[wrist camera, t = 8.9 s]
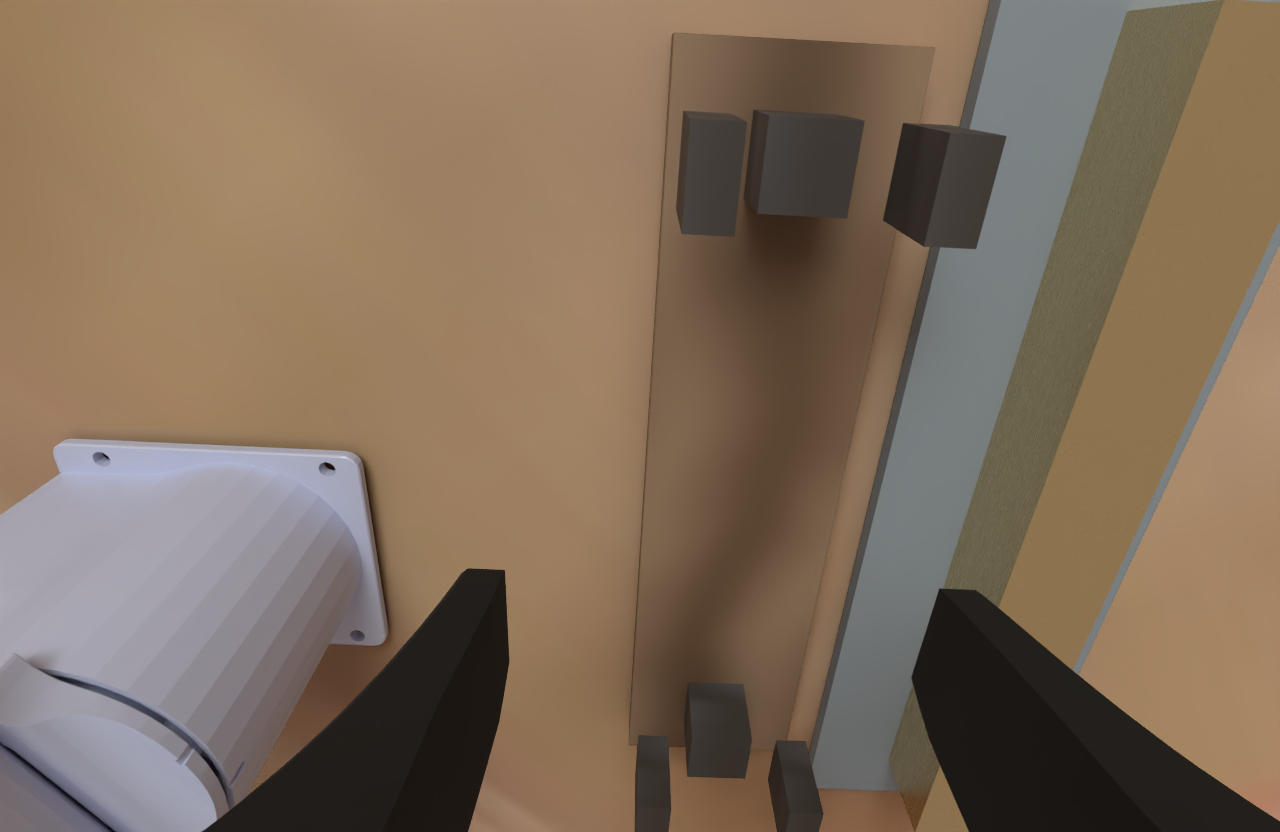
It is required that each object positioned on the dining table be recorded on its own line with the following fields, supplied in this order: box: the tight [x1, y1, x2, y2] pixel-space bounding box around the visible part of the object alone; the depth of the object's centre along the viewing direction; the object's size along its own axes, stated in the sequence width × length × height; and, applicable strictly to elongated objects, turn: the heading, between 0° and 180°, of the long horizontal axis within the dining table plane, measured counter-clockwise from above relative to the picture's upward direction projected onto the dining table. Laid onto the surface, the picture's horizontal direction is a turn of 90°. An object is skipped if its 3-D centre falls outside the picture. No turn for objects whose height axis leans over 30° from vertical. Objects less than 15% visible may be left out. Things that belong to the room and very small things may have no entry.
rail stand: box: [629, 33, 1007, 832], centre depth 20 cm, size 6×24×6 cm, turn 177°
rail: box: [889, 0, 1280, 832], centre depth 20 cm, size 3×26×3 cm, turn 177°
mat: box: [809, 0, 1280, 791], centre depth 22 cm, size 9×30×1 cm, turn 177°
